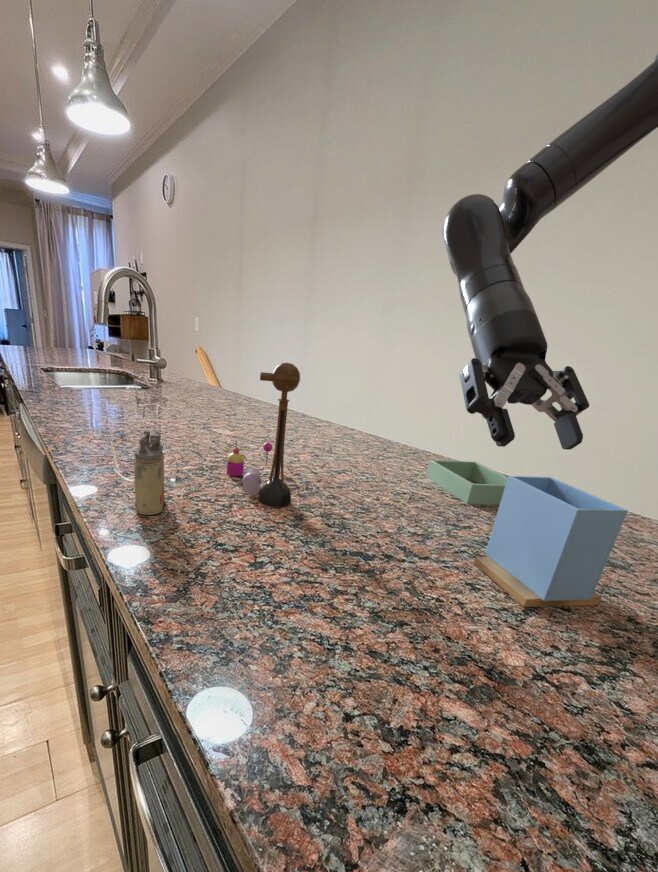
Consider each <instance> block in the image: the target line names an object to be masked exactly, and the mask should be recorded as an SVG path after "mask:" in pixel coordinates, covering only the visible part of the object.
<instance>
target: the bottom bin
mask: <svg viewBox="0 0 658 872" xmlns="http://www.w3.org/2000/svg"><path fill="white" fill-rule="evenodd" d="M425 478H427V479H429V480H430V481H432V482H433V483H435V484H436V485H438V486H439V487H441V488H442V489H444V490H445V491H446V492H448V493H449V494H451V495H453V496H454V497H456V498H457V499H459V500H460V501H462V502H463V503H465V504H466V505H499V506H500V502H501V499H502V496H503V492H504V489H505V486H506V482H507V479H508V476H506V475H504V474H502V473H500V472H498V471H496V470H494V469H492V468H490V467H488V466H486V465H484V464H482V463H480V462H478V461H470V460H469V461H465V460H441V459H429V460H428V465H427V470H426V474H425ZM469 480H472V481H474V482H475V483H473V482H471V481H469Z"/></svg>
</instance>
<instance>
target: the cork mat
mask: <svg viewBox="0 0 658 872" xmlns="http://www.w3.org/2000/svg"><path fill="white" fill-rule="evenodd" d="M473 565H474V566H476V567H477V568H478V569H479V568H480V569H481V570H480V569H479V570H480V571H481V572H483V573H484V574H485V575H486V576H487V577H488V576H489V577H488V578H490V580H492V581H493V582H494V583H495V584H496V585H498V586H499V588H501V589H502V590H503V591H505V592H506V593H507V594H508V595H509V596H510V597H511V598H513V599H514V600H515V601H516V602H517V603H518V604H520V605H521V606H522V607H523V608H540V607H543V608H544V607H571V606H572V607H574V606H576V607H577V606H598V605H600V602H601V599H602V596H601V595H600V594H598V593H596V592H595V591H594V593H593V595H592V598H591V600H561V601H543V600H542V599H541V598H540V597H538V596H537V595H536V594H535V593H533V592H532V591H531V590H530V589H528V588H527V587H526V586H525V585H523V584H522V583H521V582H519V581H518V580H517V579H516V578H514V577H513V576H512V575H511V574H509V573H508V572H507V571H506V570H504V569H503V568H502V567H501V566H499V565H498V564H497V563H496V562H494V561H493V560H492V559H491V558H489V557H488V556H475V559H474V561H473Z"/></svg>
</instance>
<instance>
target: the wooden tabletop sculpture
mask: <svg viewBox="0 0 658 872" xmlns="http://www.w3.org/2000/svg"><path fill="white" fill-rule="evenodd" d="M259 380H260V381H264V382H271V383H272V385H273V387H274V389H276V391H279V392H281V395H280V398H278V399H277V401H279V402H278V415H277V425H276V433H275V444H274V452H273V459H272V464H271V470H270V473H269V478H268V481H266V482H265V483H264V484H263V486H262V487H261V489H260V491H259V493H258V502H259V503H260V504H261V505H264V506H266V507H270V508H285V507H288V506H290V504H291V501H292V493H291V490H290V487H289V486H288V485H287V484H286V482H284V481H285V479H284V478H285V477H284V457H285V440H286V427H287V416H288V406H289V402H290V399H288V393H289V392H294V390H296V389H297V388H298V387H299V385H300V382H301V372H300V371H299V368H298V367H297V366H296V365H294V364H293V363H290V362H282V363H279V364H278V365H277V366H275V368H274V370H273V371H272V372H260V376H259Z"/></svg>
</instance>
